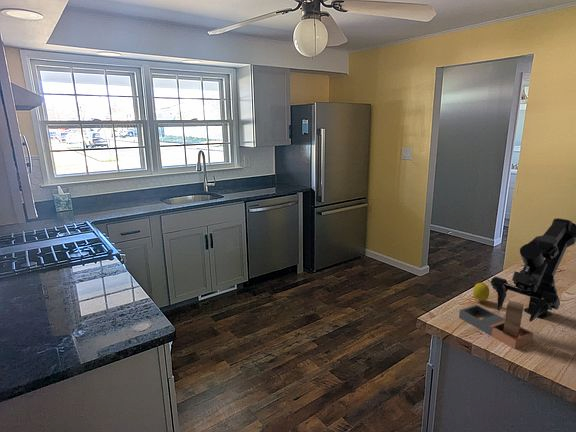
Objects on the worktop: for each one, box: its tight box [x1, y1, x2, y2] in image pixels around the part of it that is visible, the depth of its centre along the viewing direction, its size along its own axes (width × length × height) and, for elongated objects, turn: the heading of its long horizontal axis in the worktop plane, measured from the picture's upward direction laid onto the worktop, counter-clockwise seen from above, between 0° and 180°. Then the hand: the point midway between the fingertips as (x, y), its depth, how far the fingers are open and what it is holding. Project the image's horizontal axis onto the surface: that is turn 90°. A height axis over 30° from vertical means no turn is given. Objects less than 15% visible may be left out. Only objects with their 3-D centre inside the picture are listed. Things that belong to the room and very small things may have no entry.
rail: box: [458, 304, 535, 350], centre depth 122 cm, size 8×21×3 cm, turn 24°
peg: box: [503, 300, 525, 338], centre depth 115 cm, size 4×4×12 cm
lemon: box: [472, 282, 490, 302], centre depth 139 cm, size 6×6×8 cm
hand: (513, 315), depth 115 cm, fingers open, 9 cm apart
